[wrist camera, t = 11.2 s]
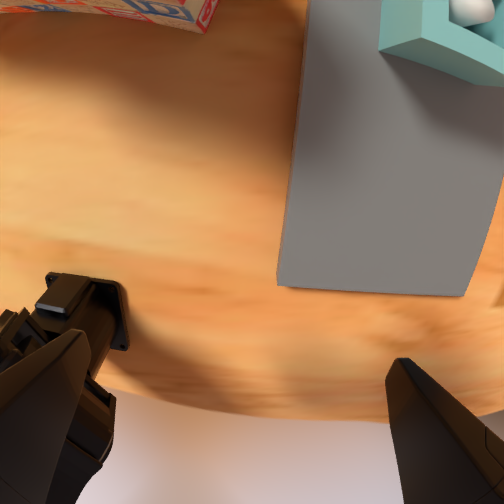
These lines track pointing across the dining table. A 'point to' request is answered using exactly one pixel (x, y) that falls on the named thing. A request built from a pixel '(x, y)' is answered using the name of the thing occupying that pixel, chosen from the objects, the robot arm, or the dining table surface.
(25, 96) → the dining table surface
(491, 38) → the teal hollow block
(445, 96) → the grey piece
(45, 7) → the stack of blocks
